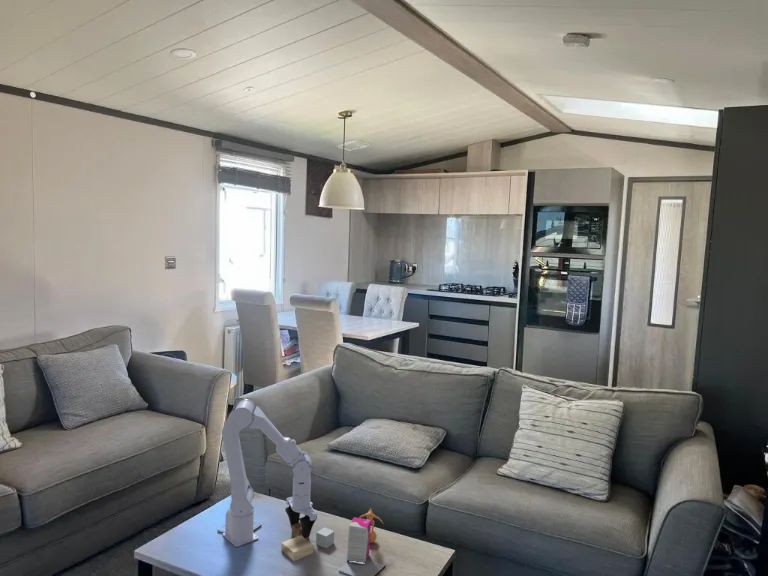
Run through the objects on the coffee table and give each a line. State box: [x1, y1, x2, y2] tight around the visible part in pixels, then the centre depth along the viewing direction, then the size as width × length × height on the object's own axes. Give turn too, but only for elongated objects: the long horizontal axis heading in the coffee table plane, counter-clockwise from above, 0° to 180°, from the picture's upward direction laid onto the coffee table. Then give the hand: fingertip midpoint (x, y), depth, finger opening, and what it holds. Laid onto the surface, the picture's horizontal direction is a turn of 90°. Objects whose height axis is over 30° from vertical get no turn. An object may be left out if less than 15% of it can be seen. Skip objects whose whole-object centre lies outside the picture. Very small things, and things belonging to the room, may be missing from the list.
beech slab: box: [281, 535, 314, 562], centre depth 170 cm, size 7×7×3 cm
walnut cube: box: [291, 521, 310, 540], centre depth 178 cm, size 4×4×4 cm
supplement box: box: [346, 516, 372, 564], centre depth 167 cm, size 6×6×12 cm
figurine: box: [358, 508, 384, 544], centre depth 176 cm, size 8×6×12 cm
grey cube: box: [315, 527, 335, 549], centre depth 175 cm, size 4×4×4 cm
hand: (300, 532), depth 178 cm, fingers open, 6 cm apart
